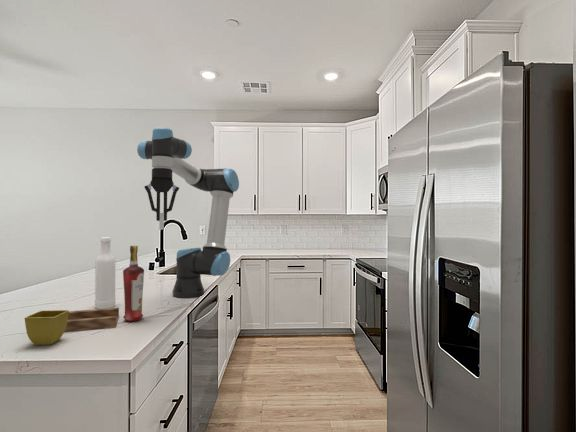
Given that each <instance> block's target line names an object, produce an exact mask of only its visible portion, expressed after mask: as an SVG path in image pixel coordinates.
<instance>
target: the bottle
mask: <svg viewBox="0 0 576 432" xmlns="http://www.w3.org/2000/svg"><path fill="white" fill-rule="evenodd" d="M94 277H95V279H94V280H95V281H94V283H95V285H94V287H95V289H94V290H95V291H94V296H95V297H94V298H95V299H94V307H95V308H94V309H107V308H115V307H116V258H115V256H114V255H113V254H112V253H111V236H102V237H100V254H99V255H97V257H96V259H95V276H94Z"/></svg>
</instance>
